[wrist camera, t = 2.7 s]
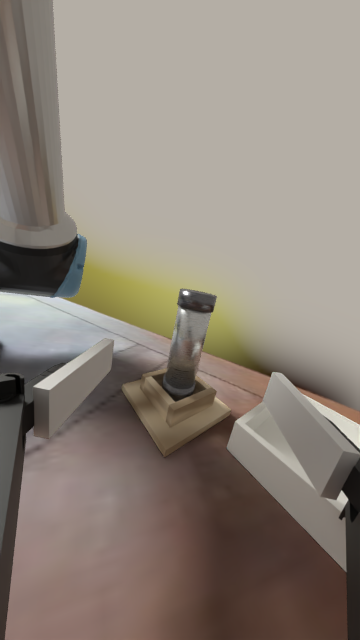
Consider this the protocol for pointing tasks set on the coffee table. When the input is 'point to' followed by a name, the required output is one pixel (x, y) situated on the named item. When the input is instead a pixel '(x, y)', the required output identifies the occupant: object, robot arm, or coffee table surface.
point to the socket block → (173, 410)
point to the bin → (293, 474)
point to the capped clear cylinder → (187, 342)
